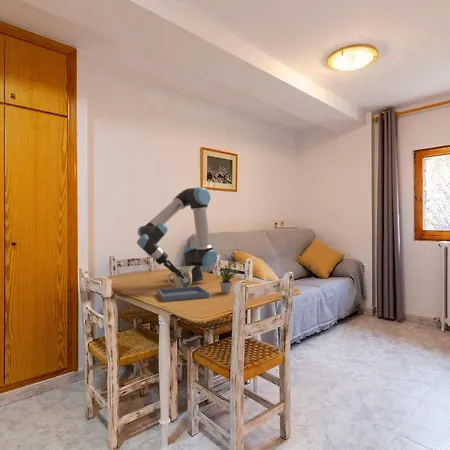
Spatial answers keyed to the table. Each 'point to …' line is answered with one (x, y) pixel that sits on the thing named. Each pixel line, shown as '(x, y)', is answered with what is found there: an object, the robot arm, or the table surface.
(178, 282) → the pitcher
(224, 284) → the house plant
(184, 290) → the tray
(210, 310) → the table surface
